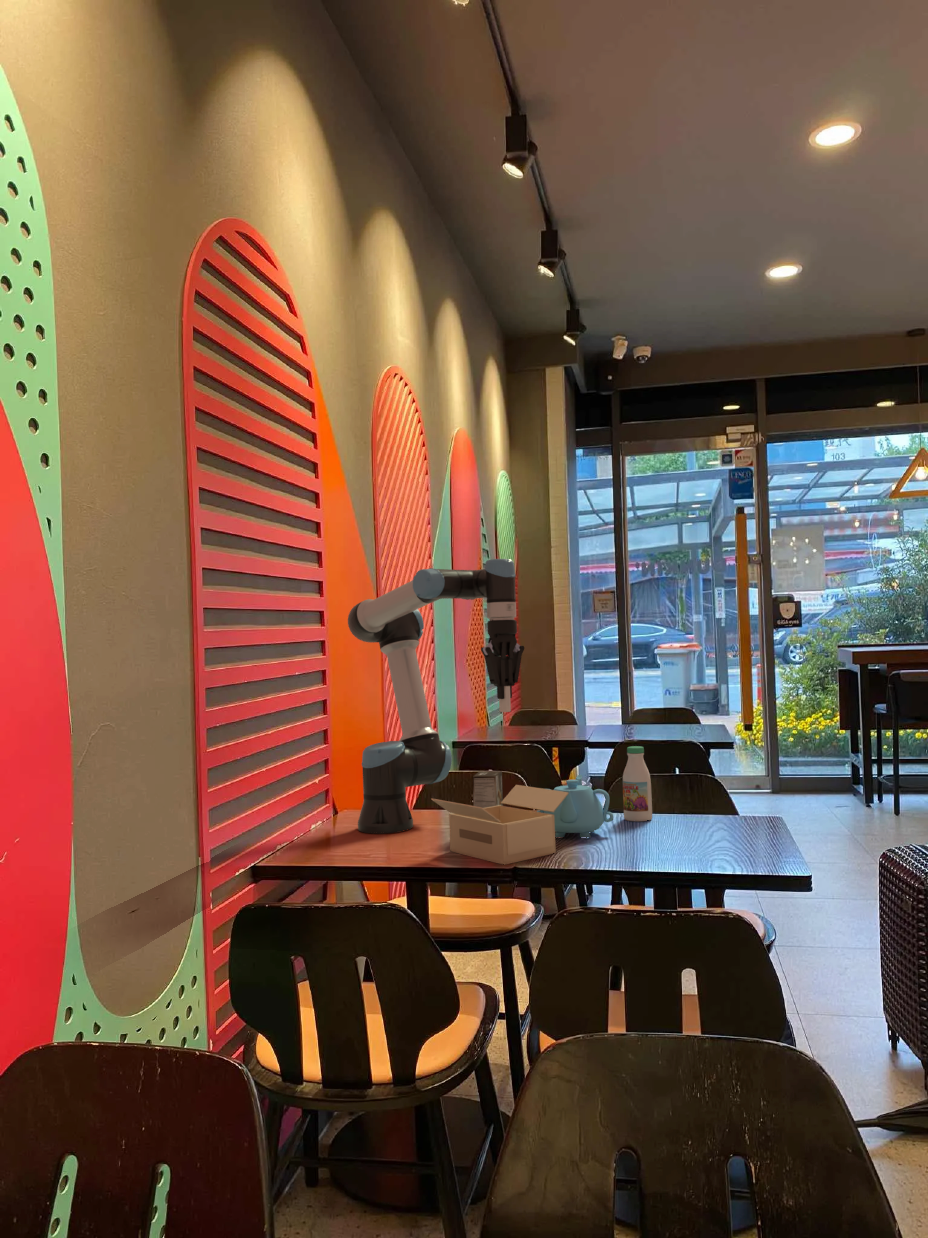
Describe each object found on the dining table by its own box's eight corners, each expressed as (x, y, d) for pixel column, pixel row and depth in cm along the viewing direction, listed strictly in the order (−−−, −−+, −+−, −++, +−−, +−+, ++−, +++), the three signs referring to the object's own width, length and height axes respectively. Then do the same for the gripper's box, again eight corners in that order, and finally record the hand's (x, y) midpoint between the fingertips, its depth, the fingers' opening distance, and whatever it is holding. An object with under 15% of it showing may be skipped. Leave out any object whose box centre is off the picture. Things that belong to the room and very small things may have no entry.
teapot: (582, 825, 255) (580, 773, 256) (623, 837, 237) (620, 781, 238) (529, 832, 248) (527, 778, 249) (567, 845, 231) (565, 787, 231)
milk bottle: (631, 816, 266) (628, 745, 266) (657, 818, 261) (654, 745, 262) (619, 820, 260) (616, 747, 260) (645, 823, 255) (642, 748, 256)
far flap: (500, 802, 238) (516, 784, 241) (501, 803, 238) (516, 785, 242) (552, 811, 223) (568, 792, 227) (553, 812, 223) (568, 793, 227)
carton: (449, 851, 229) (448, 814, 229) (500, 841, 238) (498, 805, 239) (504, 865, 212) (503, 824, 213) (556, 853, 222) (555, 815, 222)
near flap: (449, 812, 228) (431, 799, 225) (449, 811, 228) (431, 798, 225) (500, 822, 213) (481, 808, 210) (500, 821, 213) (482, 807, 210)
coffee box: (480, 831, 251) (478, 771, 252) (504, 831, 250) (502, 770, 251) (474, 838, 242) (472, 776, 243) (498, 838, 241) (496, 775, 242)
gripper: (491, 619, 235) (495, 714, 234) (530, 618, 243) (534, 710, 242) (472, 620, 241) (476, 713, 240) (511, 619, 249) (514, 709, 248)
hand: (505, 711), depth 241 cm, fingers closed
